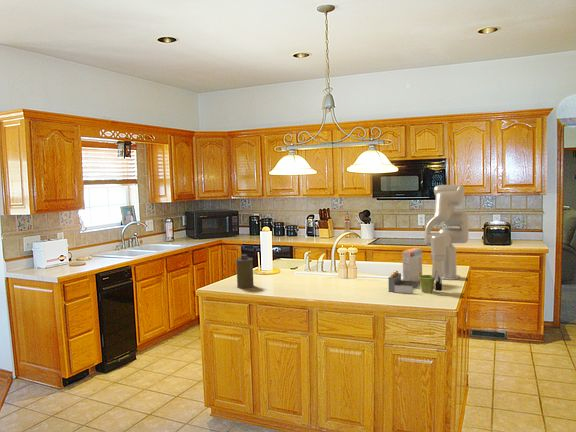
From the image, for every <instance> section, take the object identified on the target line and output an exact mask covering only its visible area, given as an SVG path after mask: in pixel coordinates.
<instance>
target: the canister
mask: <svg viewBox="0 0 576 432" xmlns="http://www.w3.org/2000/svg"><path fill="white" fill-rule="evenodd" d="M253 259H254V258H253V257H249V256H248V254H241V255H240V257H238V258H236V259H235V261H236V262H235V263H236V282H237V283H236V284H237V286H236V287H237V288H238V289H251V288H254V286H255V285H254V266H253V265H254V264H253Z"/></svg>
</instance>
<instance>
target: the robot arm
mask: <svg viewBox="0 0 576 432" xmlns="http://www.w3.org/2000/svg"><path fill="white" fill-rule="evenodd" d="M433 193H434V196H435V202H434V213H433V214H434V215H433V217H432V218H431V219H430V220H429V221H428V222H427V224H426V226H425V230H424V244H425V245H426V246H428V247H430V252H431V253H430V255H431V256H430V257H431V259H430V261H432V266H431V269H432V270H431V275H432V278H433V279H434V278H435V280H434V285H435V286H434V288H435V291H437V292H442V290H443V283H442V282H443V281H442V280H448V281H449V280H451V281H452V280H458V279H460V276H459V274H457V249H456V248H455V246H454V245H453V244H466V243H468V241H469V217H468V214H467V213H468V212H467V211H465V210H456V209H455V207H456V206H458V207H459V206H461V204H462V203H463V200H464V197H465V193H466V192H465V186H463V185H462V184H439V185H435V186H434V187H433ZM439 224H441V225H442V226H445V227H443V228H440V230H439V231H438V233H437V232H431V231H432V229H433V227H435V226H437V225H439Z"/></svg>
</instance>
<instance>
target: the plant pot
mask: <svg viewBox="0 0 576 432" xmlns="http://www.w3.org/2000/svg"><path fill="white" fill-rule="evenodd" d="M418 277H419V280H420V283H419V284H420V290H421V292H422V293H425V294H426V293H427V294H429V293H431V294H432V293H433V292H434V288H435V286H434V285H435V278H434V279H433V278H432V274H422V275H420V276H418Z"/></svg>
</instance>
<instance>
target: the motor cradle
mask: <svg viewBox="0 0 576 432" xmlns="http://www.w3.org/2000/svg"><path fill="white" fill-rule="evenodd" d="M390 274H391V275H390V276H388V281H387V282H388V292H390V293H397V294H409V295H410V294H411V295H412V294H414V289H419V283H418V281H410V280H403V279H402V273H401V272H400V273H399V270H393V272H391V273H390Z"/></svg>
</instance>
